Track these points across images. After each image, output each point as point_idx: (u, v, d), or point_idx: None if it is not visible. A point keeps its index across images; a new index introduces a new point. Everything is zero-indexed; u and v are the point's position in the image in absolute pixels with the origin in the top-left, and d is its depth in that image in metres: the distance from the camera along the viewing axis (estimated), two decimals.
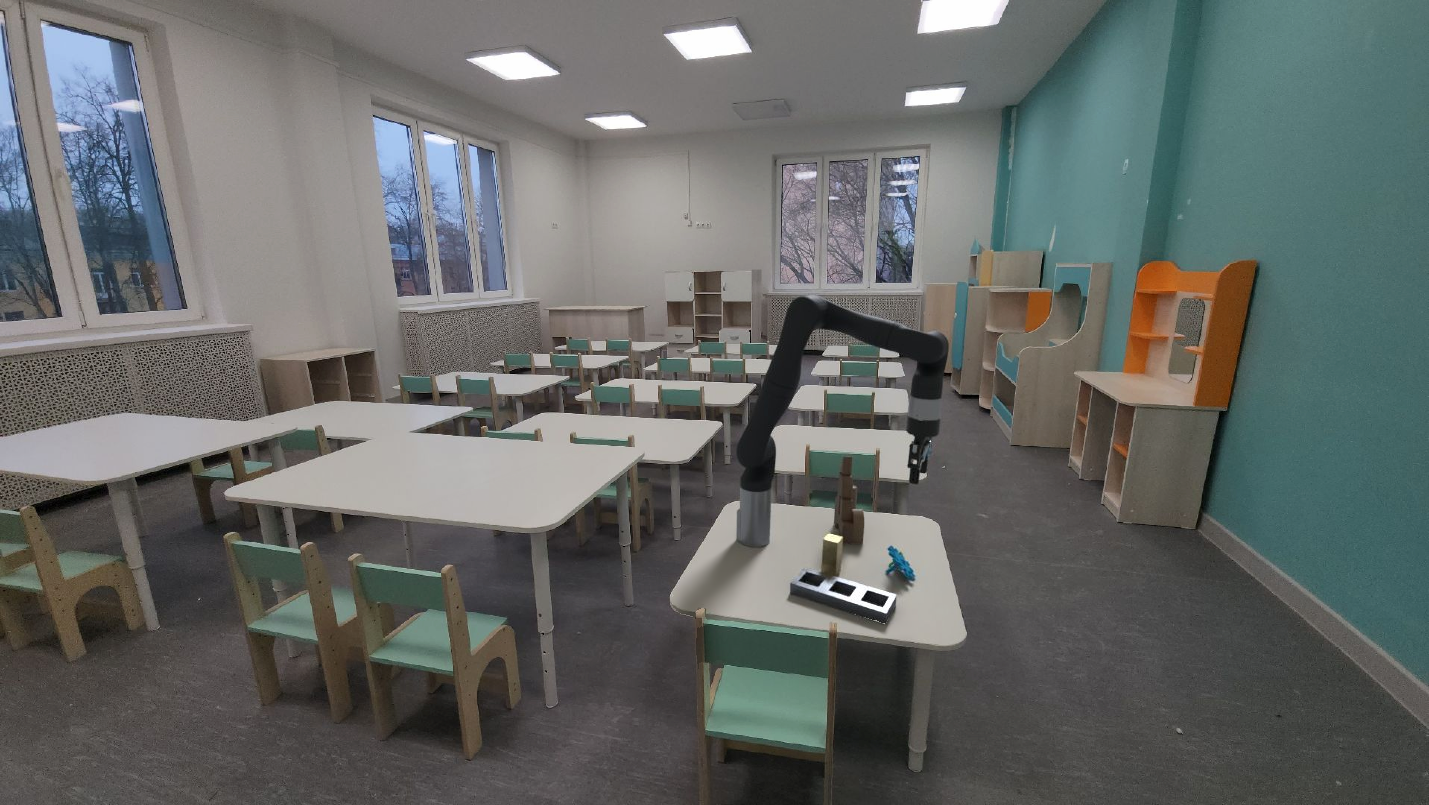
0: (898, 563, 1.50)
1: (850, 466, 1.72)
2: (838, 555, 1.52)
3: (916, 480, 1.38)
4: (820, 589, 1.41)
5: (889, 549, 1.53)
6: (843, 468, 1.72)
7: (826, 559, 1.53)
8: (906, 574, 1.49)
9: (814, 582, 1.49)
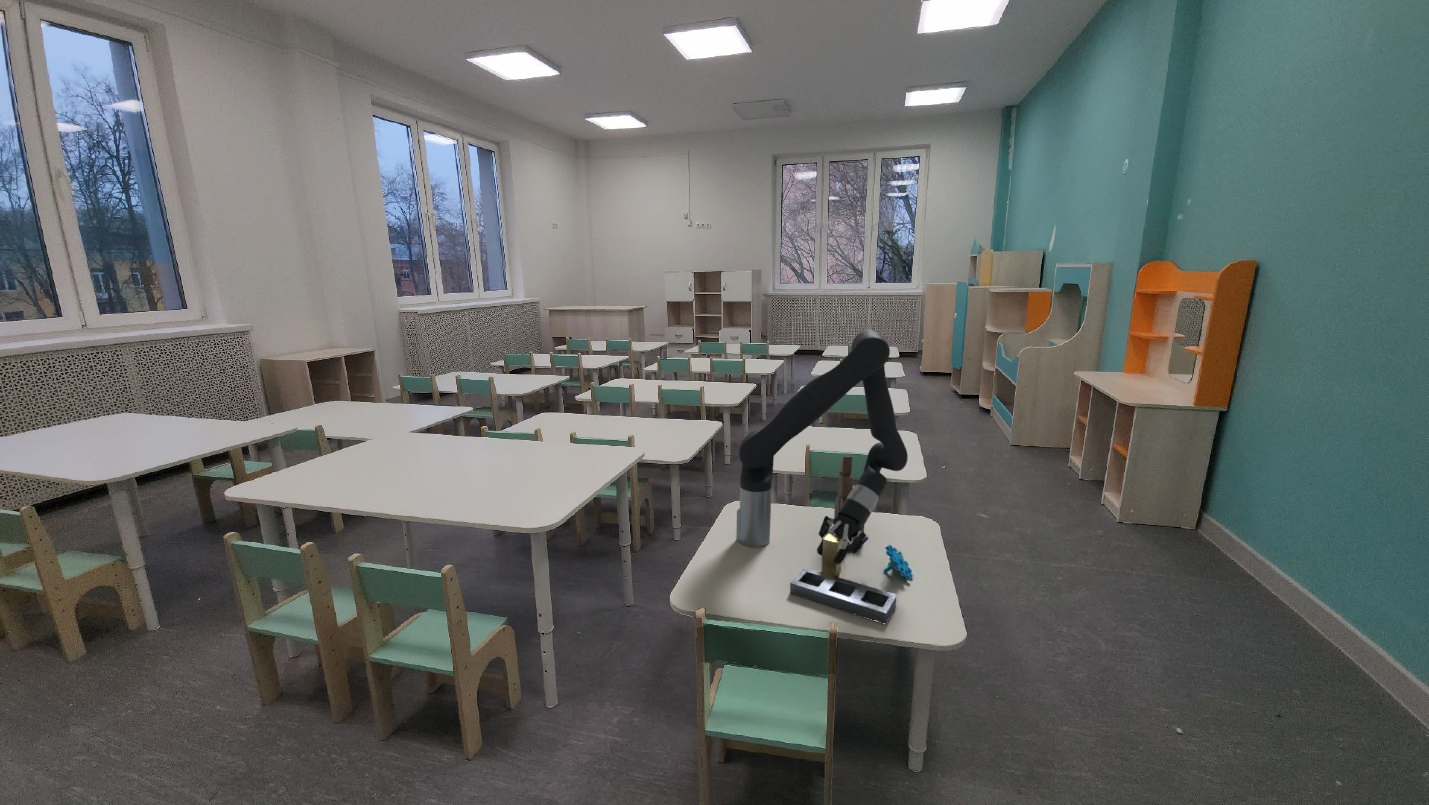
0: (895, 562, 1.51)
1: (850, 466, 1.72)
2: None
3: None
4: (820, 589, 1.41)
5: (887, 548, 1.54)
6: (843, 468, 1.72)
7: (826, 559, 1.53)
8: (902, 573, 1.49)
9: (814, 582, 1.49)
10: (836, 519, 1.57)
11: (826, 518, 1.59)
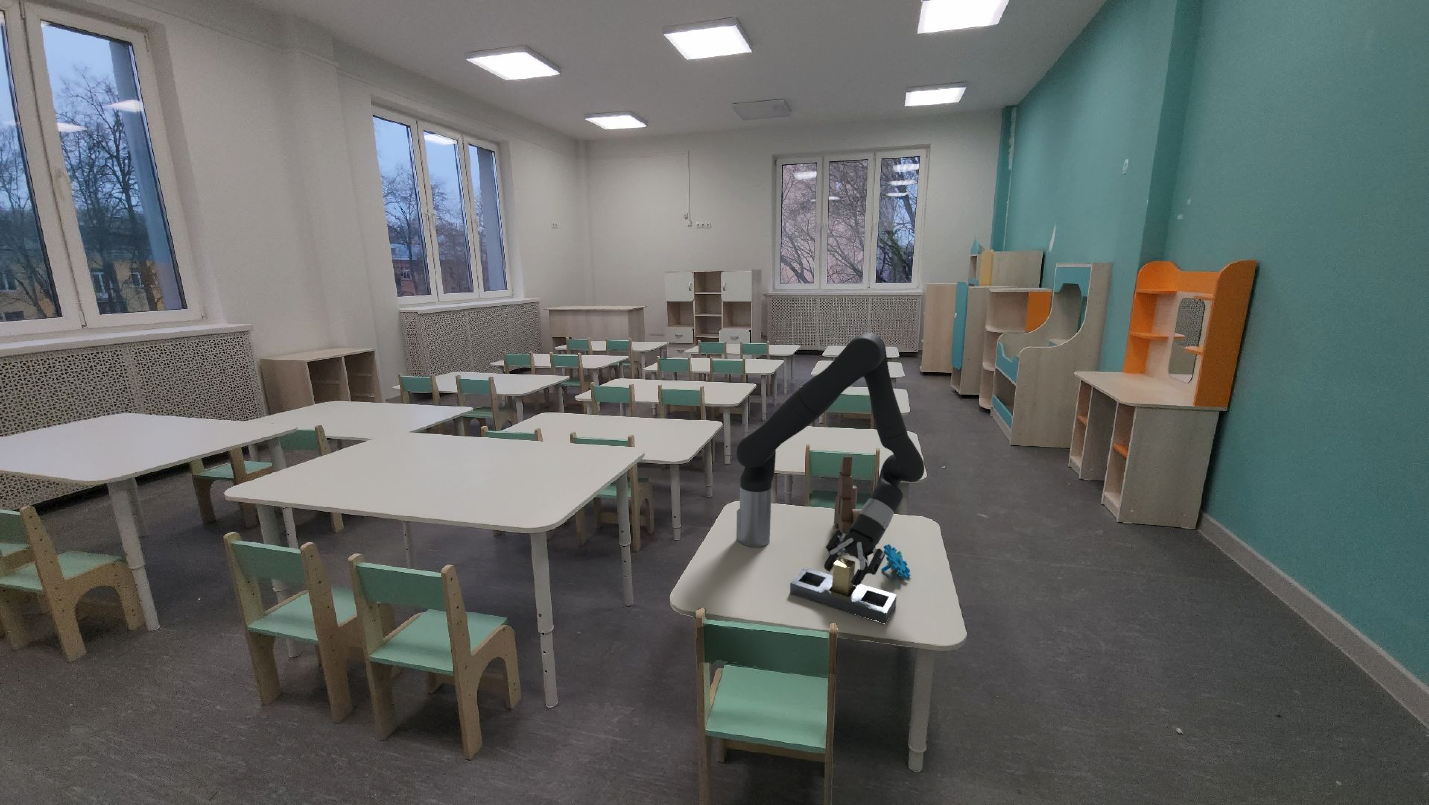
0: (892, 561, 1.51)
1: (850, 466, 1.72)
2: (850, 581, 1.40)
3: None
4: (820, 589, 1.41)
5: (885, 547, 1.54)
6: (843, 468, 1.72)
7: (837, 586, 1.40)
8: (899, 573, 1.49)
9: (814, 582, 1.49)
10: (847, 536, 1.44)
11: (838, 532, 1.46)
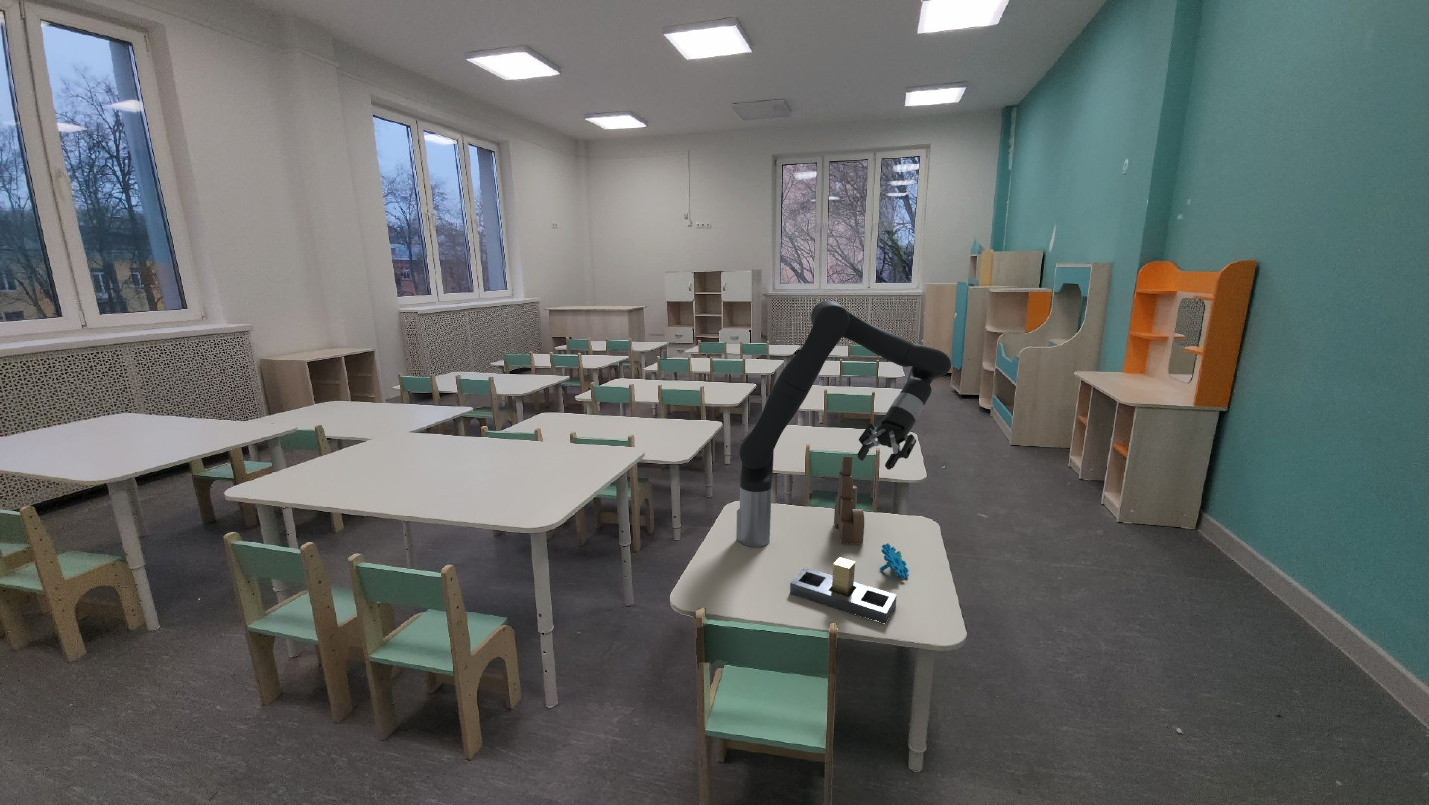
0: (890, 561, 1.51)
1: (850, 466, 1.72)
2: (850, 581, 1.40)
3: None
4: (820, 589, 1.41)
5: (883, 546, 1.55)
6: (843, 468, 1.72)
7: (837, 586, 1.40)
8: (896, 572, 1.50)
9: (814, 582, 1.49)
10: (880, 428, 1.53)
11: (870, 425, 1.55)
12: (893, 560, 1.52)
